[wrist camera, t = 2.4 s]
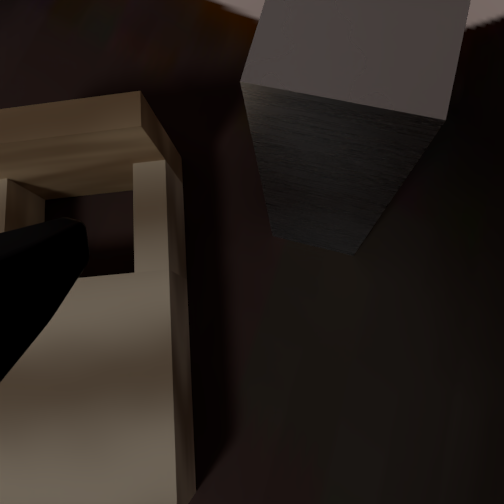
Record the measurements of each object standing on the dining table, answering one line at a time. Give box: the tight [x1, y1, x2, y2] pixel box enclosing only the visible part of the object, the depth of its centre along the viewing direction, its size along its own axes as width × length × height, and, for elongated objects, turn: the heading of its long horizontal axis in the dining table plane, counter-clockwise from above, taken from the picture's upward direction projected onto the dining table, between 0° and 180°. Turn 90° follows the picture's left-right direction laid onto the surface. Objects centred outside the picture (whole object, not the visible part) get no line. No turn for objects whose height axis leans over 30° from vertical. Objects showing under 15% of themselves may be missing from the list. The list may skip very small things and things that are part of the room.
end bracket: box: [240, 0, 470, 255], centre depth 15 cm, size 5×4×12 cm
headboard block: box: [0, 91, 196, 504], centre depth 18 cm, size 16×9×6 cm, turn 4°
